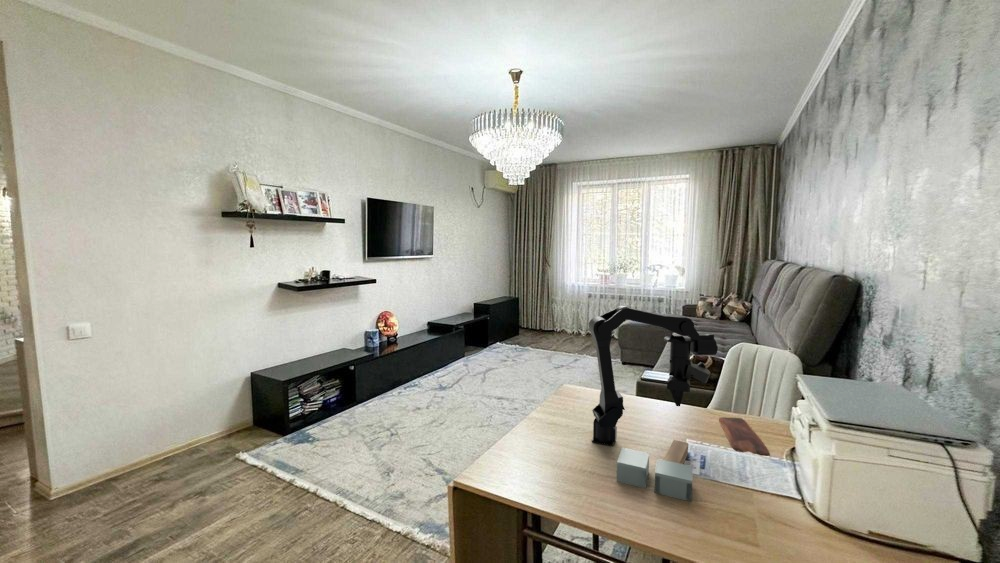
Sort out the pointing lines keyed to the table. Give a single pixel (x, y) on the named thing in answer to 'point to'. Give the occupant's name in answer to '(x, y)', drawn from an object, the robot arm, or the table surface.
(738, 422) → the wooden tablet
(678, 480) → the end cap
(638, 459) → the end cap
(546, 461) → the table surface
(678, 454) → the brown wooden bar
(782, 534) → the table surface
